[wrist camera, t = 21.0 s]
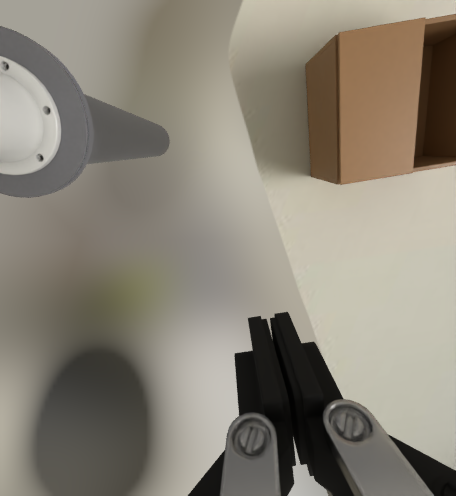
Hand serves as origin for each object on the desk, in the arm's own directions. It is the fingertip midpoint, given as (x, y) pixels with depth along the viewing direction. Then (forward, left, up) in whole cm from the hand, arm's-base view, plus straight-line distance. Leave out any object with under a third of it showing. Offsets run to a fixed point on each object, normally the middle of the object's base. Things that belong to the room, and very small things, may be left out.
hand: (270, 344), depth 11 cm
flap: (+14, +9, -18) cm, 25 cm away
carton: (+18, +9, -27) cm, 34 cm away
